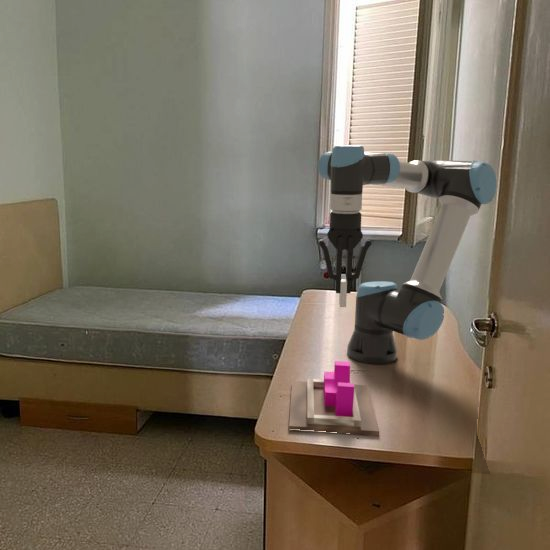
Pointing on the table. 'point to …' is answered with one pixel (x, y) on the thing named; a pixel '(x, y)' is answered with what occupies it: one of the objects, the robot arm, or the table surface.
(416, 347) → the table surface
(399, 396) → the table surface
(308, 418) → the locating board
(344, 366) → the toy block
